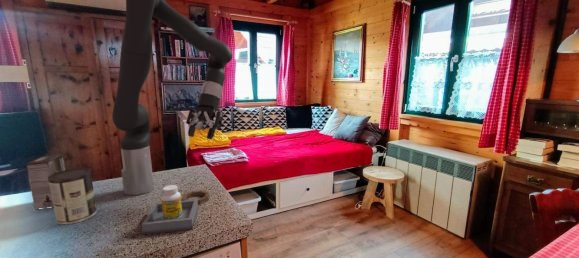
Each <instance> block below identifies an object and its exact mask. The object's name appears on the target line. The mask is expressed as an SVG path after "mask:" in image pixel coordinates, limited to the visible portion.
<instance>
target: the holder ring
mask: <svg viewBox="0 0 579 258" xmlns="http://www.w3.org/2000/svg"><path fill="white" fill-rule="evenodd" d="M197 196H198V197H199V196H202V197H201V198H197V199H198V206H201V205H202V204H204V203H207V202H208V201H209V198H210V192H209V191H206V190H193V191H189V192H186V193H185V194H183V196H182V197H181V201H185V200H189V199H190V198H192V197H197Z"/></svg>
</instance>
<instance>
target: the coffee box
mask: <svg viewBox="0 0 579 258" xmlns="http://www.w3.org/2000/svg"><path fill="white" fill-rule="evenodd" d="M25 168H26V173H27V178H28V181H29V187H30V191H31V192H30V193H31V197H32V201H33V206H34V210H35V209H39V208H47V207H54V206H53V201H52V196H51V191H50V185H49V181H48V176H50V175H52V174H54V173H57V172H60V171H64V170H67V167H66V162H65V154H56V155H42V156H41V157H40V156H39V157H38V158H36V159H34V160H32V161H29V162H26V163H25ZM39 210H40V209H39Z"/></svg>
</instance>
